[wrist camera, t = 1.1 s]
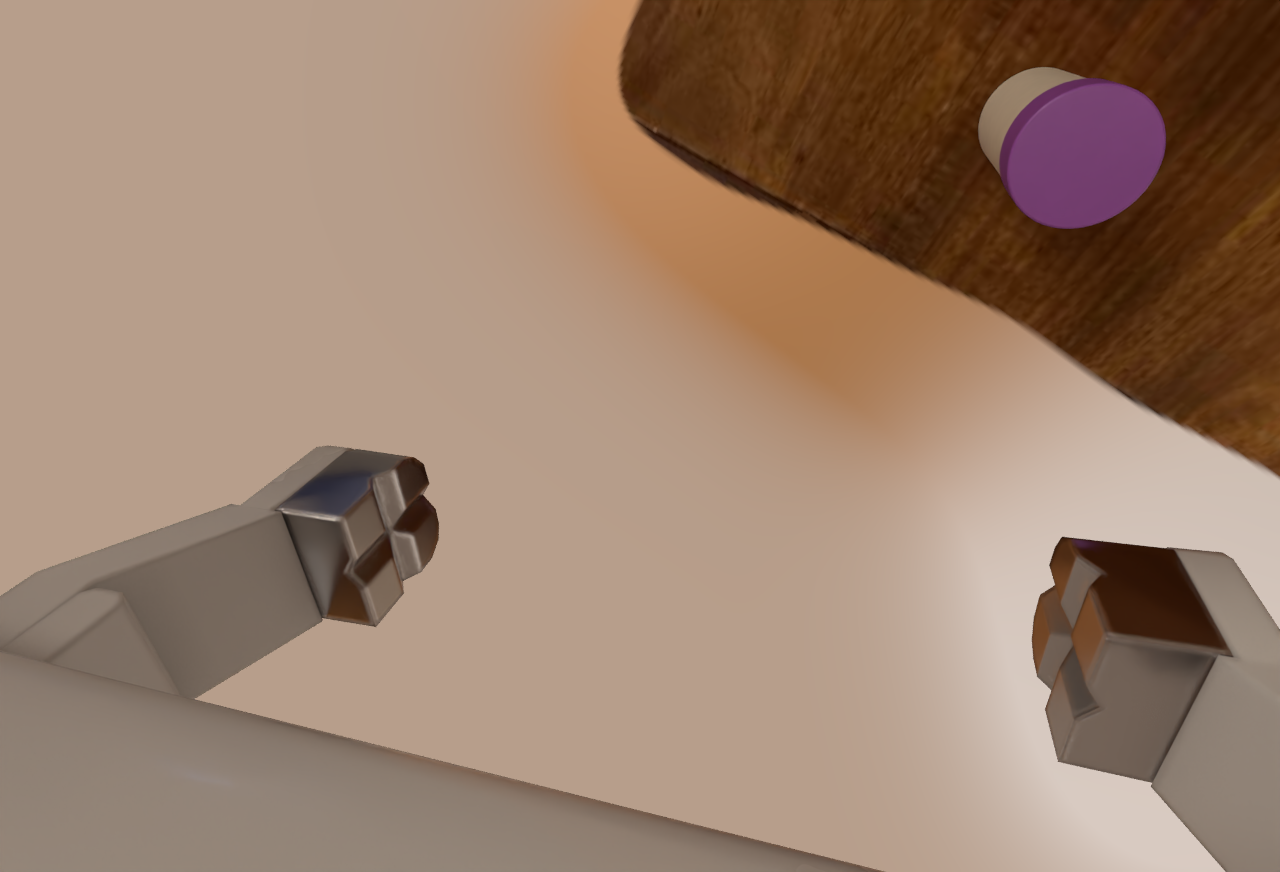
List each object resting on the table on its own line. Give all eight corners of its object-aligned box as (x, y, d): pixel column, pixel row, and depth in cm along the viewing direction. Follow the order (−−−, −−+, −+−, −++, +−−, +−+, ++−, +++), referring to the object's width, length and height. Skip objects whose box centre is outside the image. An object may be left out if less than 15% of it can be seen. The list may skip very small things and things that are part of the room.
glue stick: (952, 136, 24) (976, 179, 18) (1031, 41, 22) (1089, 51, 16) (1029, 194, 25) (1079, 255, 18) (1115, 104, 23) (1202, 138, 16)
